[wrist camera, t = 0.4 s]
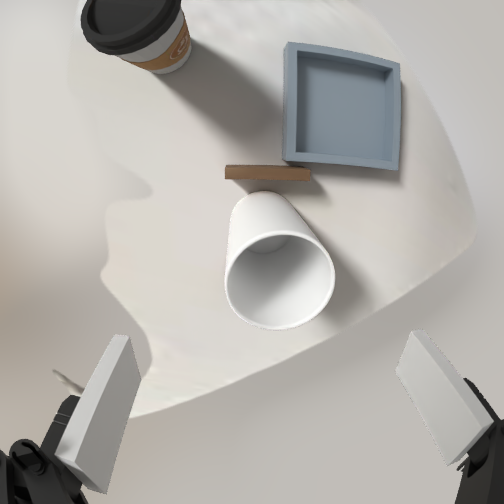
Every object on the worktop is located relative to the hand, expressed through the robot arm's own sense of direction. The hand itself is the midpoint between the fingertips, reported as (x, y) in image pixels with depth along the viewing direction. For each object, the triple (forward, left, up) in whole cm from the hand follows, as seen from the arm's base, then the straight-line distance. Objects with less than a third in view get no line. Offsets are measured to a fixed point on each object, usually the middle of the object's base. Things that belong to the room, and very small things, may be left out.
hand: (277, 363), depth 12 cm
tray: (-14, +10, -25) cm, 30 cm away
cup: (+1, +1, -25) cm, 25 cm away
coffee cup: (-21, -11, -25) cm, 34 cm away
